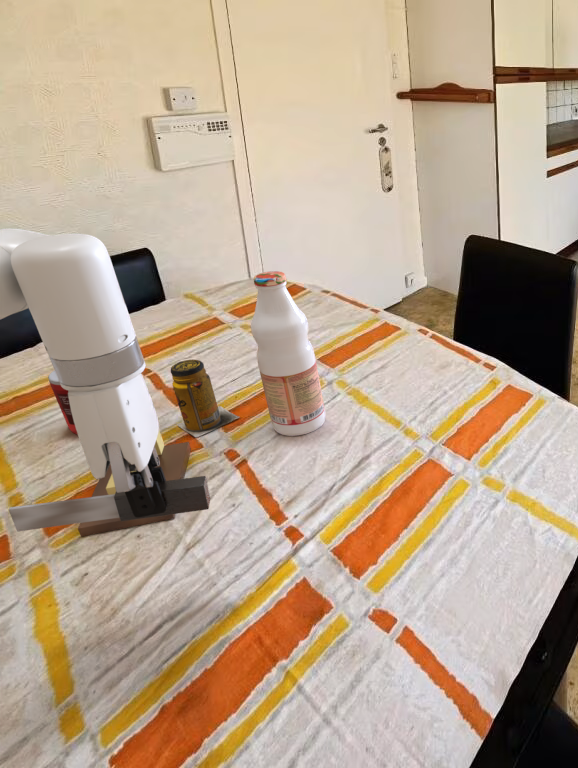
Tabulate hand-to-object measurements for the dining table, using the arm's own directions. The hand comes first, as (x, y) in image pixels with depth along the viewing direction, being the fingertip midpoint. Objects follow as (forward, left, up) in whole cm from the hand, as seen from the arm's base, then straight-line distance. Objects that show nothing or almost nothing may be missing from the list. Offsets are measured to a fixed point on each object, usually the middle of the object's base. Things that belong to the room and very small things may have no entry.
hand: (153, 505), depth 71 cm
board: (-10, +26, -14) cm, 31 cm away
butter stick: (-10, +24, -13) cm, 29 cm away
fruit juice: (+14, +38, -15) cm, 43 cm away
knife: (-3, 0, -1) cm, 3 cm away
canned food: (-22, +50, -15) cm, 56 cm away
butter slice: (-10, +34, -13) cm, 38 cm away
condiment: (-2, +44, -15) cm, 46 cm away
